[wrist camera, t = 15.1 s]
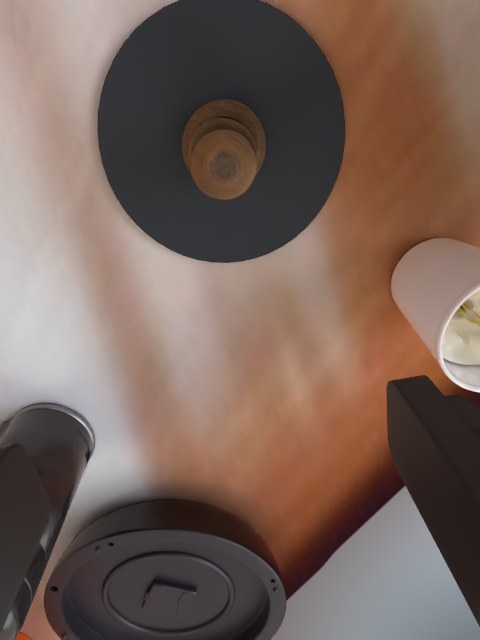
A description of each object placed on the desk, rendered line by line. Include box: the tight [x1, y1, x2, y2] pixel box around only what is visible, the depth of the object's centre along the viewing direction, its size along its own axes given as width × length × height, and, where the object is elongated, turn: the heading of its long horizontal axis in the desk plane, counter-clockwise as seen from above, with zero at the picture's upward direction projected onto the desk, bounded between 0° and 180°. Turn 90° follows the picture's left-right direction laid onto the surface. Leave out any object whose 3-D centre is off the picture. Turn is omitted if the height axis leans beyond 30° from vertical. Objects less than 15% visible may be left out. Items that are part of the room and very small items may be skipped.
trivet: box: [98, 0, 345, 263], centre depth 35 cm, size 20×20×1 cm
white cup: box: [391, 238, 480, 392], centre depth 35 cm, size 10×10×12 cm
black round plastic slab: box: [44, 500, 286, 640], centre depth 55 cm, size 30×6×30 cm
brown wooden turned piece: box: [182, 99, 266, 200], centre depth 26 cm, size 7×6×18 cm
